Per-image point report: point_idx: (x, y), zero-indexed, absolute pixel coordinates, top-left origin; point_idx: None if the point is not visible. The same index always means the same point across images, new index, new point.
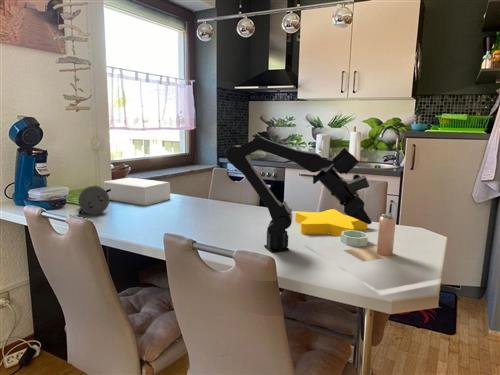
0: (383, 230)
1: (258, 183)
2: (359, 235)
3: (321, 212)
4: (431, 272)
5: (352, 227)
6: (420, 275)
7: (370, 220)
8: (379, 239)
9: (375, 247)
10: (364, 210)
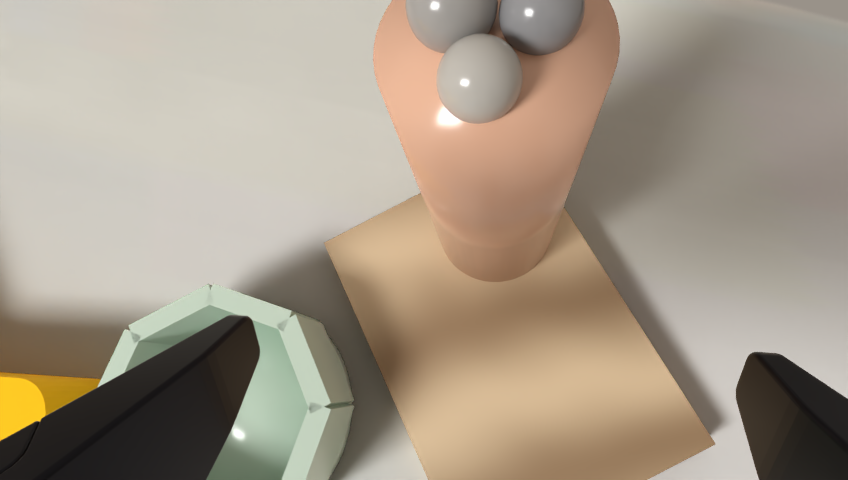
0: (568, 183)
1: None
2: (159, 348)
3: None
4: (725, 20)
5: (13, 390)
6: (803, 90)
7: (819, 385)
8: (524, 246)
9: (366, 263)
10: (191, 365)
